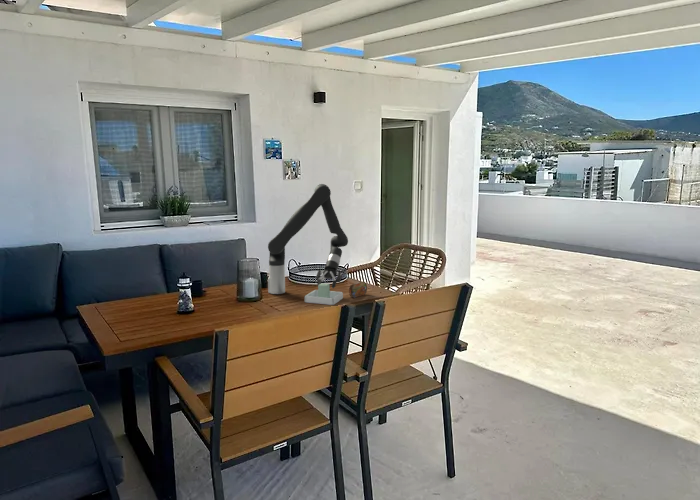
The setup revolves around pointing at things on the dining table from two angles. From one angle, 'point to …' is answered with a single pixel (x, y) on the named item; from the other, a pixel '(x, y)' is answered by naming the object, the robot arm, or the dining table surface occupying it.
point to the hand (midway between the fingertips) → (325, 286)
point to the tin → (357, 289)
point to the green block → (324, 290)
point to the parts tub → (314, 298)
